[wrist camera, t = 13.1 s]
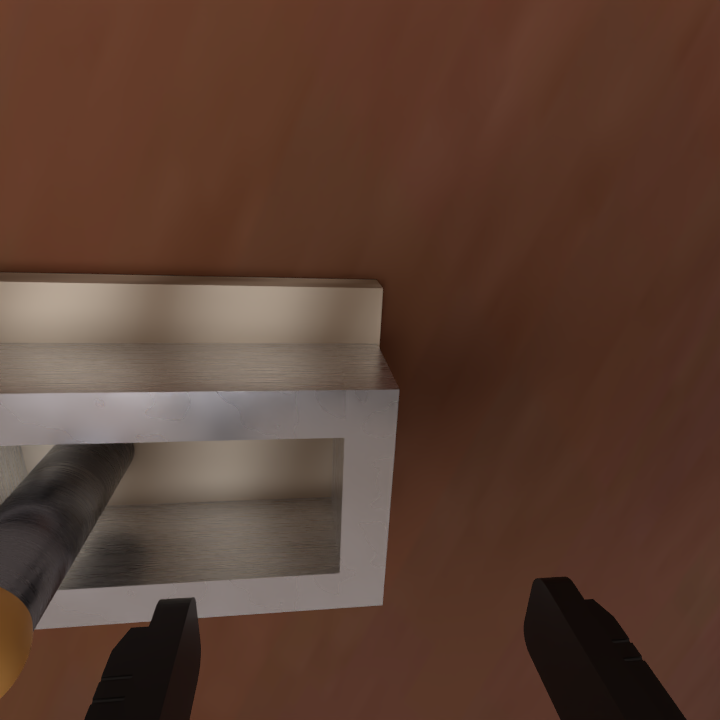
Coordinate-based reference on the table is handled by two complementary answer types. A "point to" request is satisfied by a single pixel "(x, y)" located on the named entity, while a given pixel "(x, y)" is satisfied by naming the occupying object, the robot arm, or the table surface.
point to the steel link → (219, 518)
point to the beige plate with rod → (154, 459)
